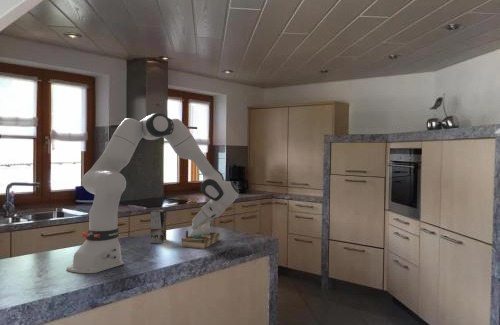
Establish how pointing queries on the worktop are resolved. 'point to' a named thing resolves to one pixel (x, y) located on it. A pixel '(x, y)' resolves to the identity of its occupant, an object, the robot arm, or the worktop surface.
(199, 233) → the white rounded cylinder
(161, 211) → the coffee box
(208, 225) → the sleeve
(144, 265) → the worktop surface
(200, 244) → the wooden compartment tray
